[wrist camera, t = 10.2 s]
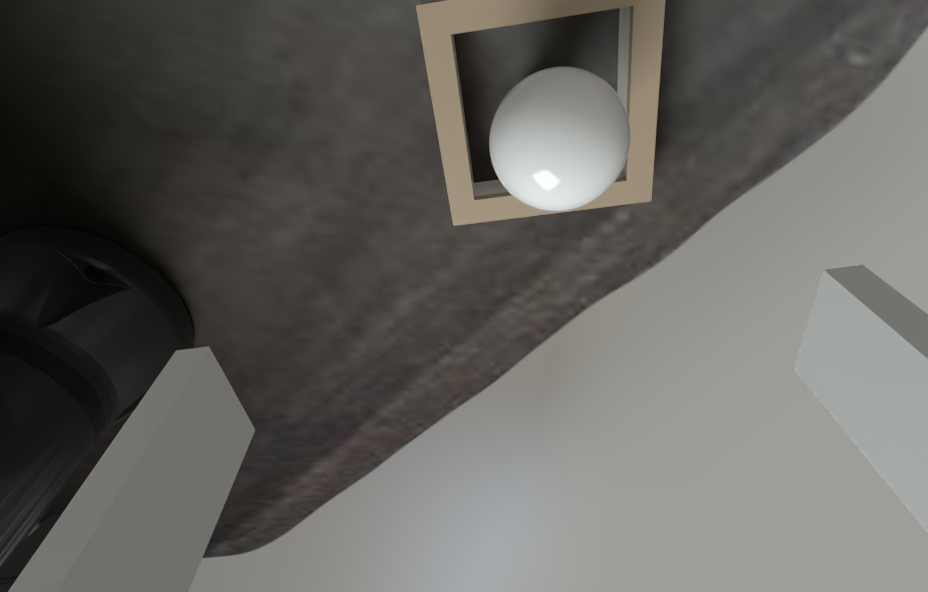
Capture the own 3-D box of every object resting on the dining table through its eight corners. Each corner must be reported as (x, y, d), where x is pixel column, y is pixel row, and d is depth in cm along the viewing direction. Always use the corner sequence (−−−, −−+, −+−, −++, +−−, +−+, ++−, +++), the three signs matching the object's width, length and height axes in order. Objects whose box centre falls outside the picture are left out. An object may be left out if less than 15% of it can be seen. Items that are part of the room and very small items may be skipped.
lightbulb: (463, 103, 30) (459, 169, 21) (543, 13, 27) (578, 45, 18) (536, 173, 32) (561, 260, 23) (616, 97, 30) (680, 162, 21)
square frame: (454, 206, 34) (453, 225, 31) (420, 0, 27) (415, 5, 25) (638, 183, 33) (651, 201, 30) (650, -38, 26) (667, -36, 24)
